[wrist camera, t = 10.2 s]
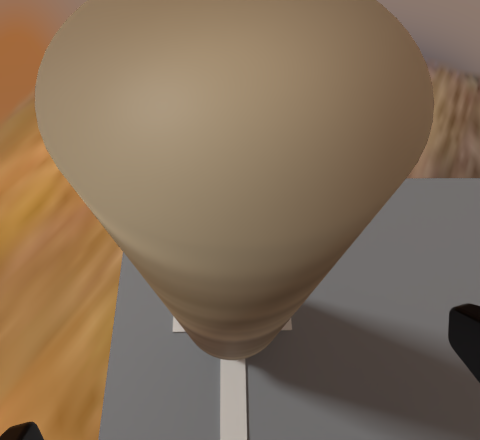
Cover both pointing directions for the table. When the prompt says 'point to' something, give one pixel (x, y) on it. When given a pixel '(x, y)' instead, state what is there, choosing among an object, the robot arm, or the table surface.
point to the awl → (234, 144)
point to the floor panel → (321, 343)
